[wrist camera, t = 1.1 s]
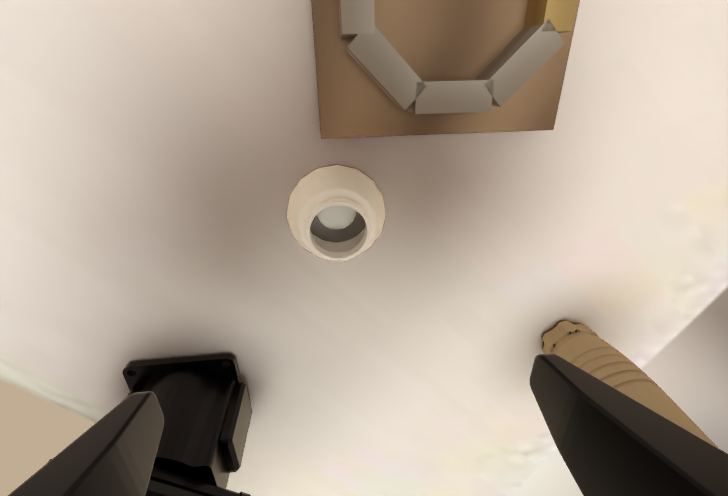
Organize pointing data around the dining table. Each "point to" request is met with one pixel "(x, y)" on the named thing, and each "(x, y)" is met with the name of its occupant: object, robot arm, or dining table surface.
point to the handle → (614, 370)
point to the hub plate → (440, 65)
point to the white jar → (335, 210)
